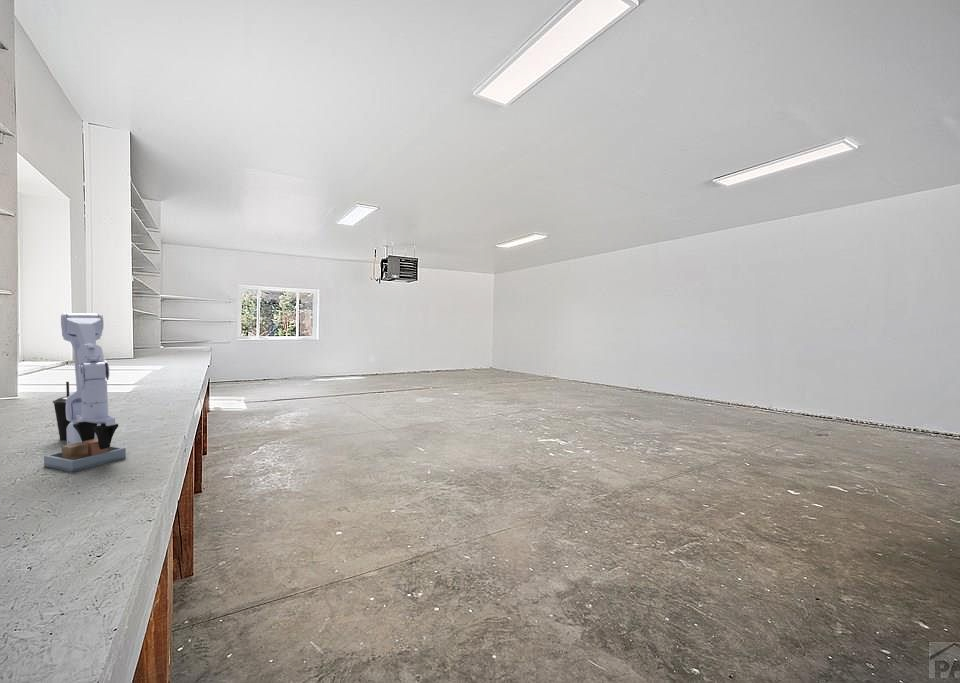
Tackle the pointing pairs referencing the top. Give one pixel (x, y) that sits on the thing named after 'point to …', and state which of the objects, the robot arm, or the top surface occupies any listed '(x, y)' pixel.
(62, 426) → the drinking cup
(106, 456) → the tray
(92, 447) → the terracotta block
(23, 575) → the top surface
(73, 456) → the tan block
